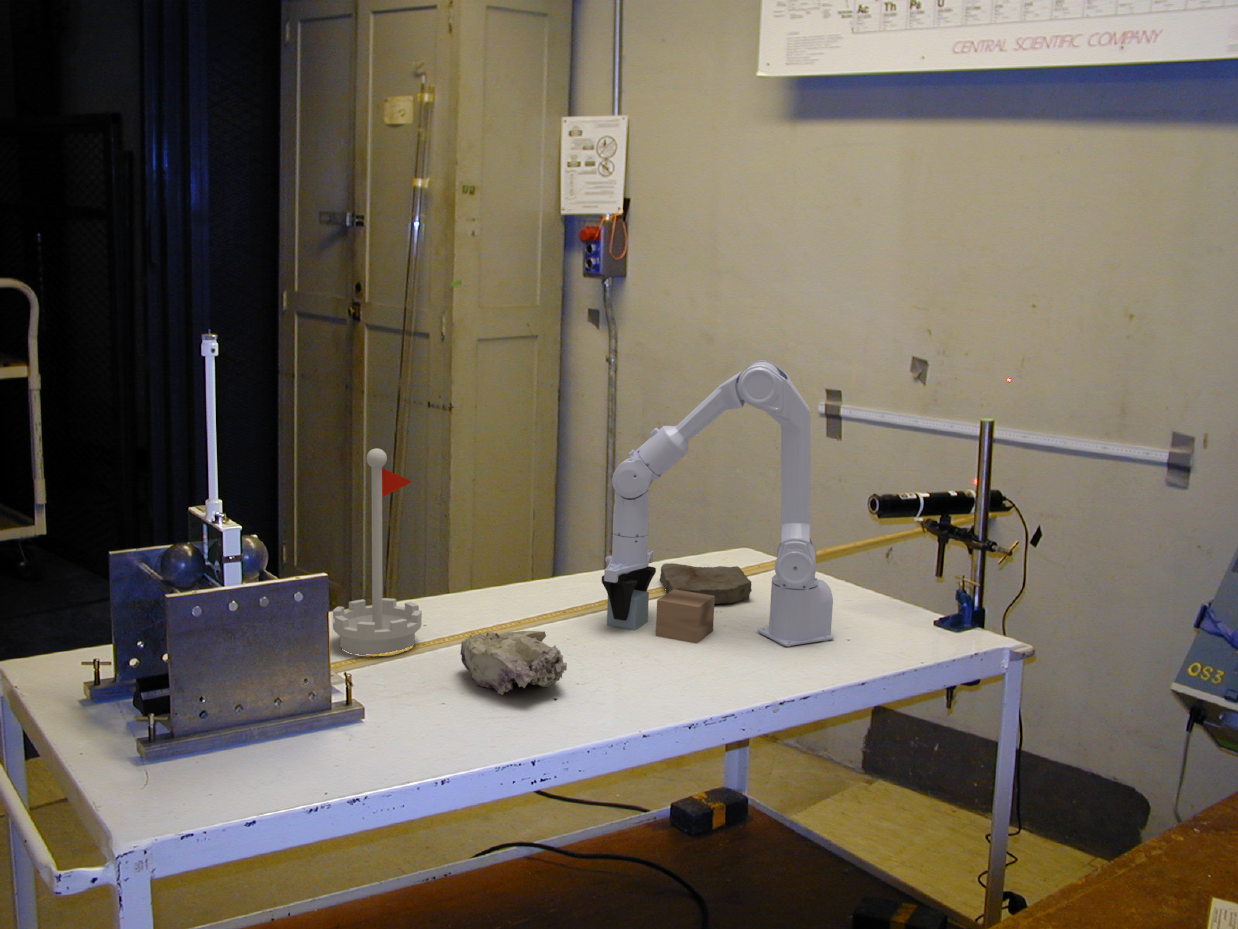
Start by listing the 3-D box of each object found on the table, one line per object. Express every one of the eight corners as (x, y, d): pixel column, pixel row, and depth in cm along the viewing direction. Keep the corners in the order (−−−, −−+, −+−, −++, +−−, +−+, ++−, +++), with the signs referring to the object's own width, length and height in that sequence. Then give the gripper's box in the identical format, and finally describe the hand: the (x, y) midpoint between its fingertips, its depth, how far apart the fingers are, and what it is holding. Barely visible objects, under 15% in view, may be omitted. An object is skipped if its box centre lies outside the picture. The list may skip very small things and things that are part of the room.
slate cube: (620, 616, 197) (621, 587, 196) (647, 621, 195) (648, 592, 194) (606, 624, 192) (607, 595, 191) (635, 630, 190) (636, 599, 189)
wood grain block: (672, 624, 194) (674, 589, 193) (712, 631, 191) (714, 595, 190) (655, 636, 188) (657, 600, 186) (696, 644, 185) (698, 607, 184)
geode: (501, 695, 175) (439, 710, 162) (489, 632, 176) (426, 641, 163) (599, 675, 167) (541, 689, 154) (585, 609, 169) (527, 617, 155)
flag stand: (337, 663, 171) (335, 457, 166) (329, 634, 183) (326, 442, 178) (428, 655, 175) (429, 455, 170) (413, 628, 187) (414, 440, 182)
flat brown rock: (658, 581, 219) (659, 559, 219) (738, 582, 221) (739, 560, 220) (669, 608, 203) (670, 585, 202) (755, 609, 204) (756, 586, 203)
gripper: (627, 521, 199) (624, 599, 201) (587, 539, 186) (585, 622, 188) (666, 526, 196) (662, 606, 198) (628, 545, 183) (625, 630, 185)
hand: (627, 614), depth 193 cm, fingers closed on slate cube, 5 cm apart
